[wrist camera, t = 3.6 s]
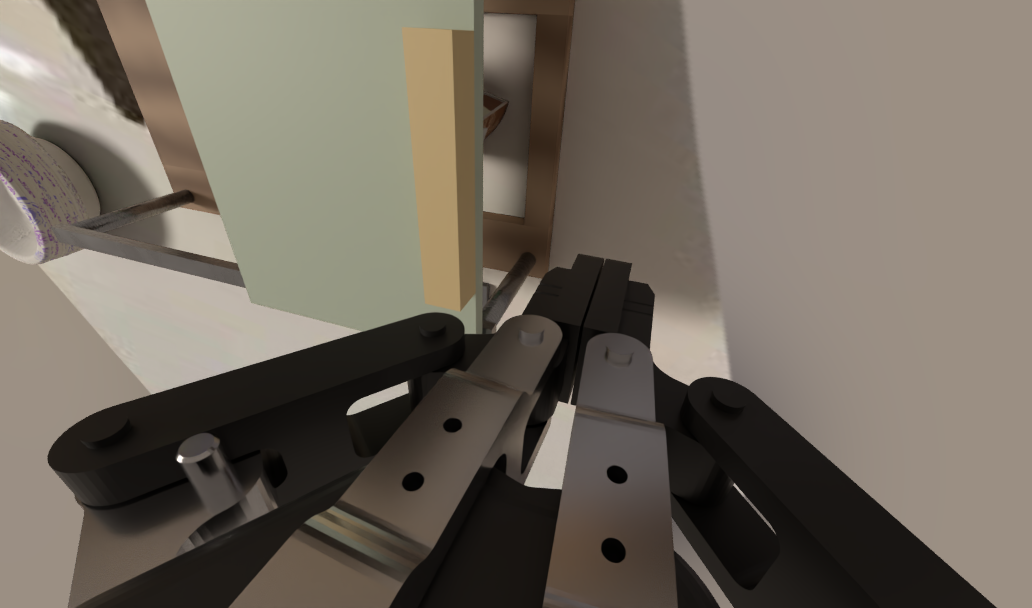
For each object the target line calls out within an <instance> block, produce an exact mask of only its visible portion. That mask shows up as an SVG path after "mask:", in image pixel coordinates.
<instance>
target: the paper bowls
mask: <svg viewBox="0 0 1032 608" xmlns="http://www.w3.org/2000/svg"><path fill="white" fill-rule="evenodd" d="M99 215H100V203H99V199H98V196H97V193H96V191H95V189H94V187H93V185H92V183H91V181H90V180H89V178H88V177H87V175H86V174H85V172H84V171H83V170H82V169H81V167H80V166H79V165H78V164H77V163H76V162H75V161H74V160H73V159H72V158H71V157H70V156H69V155H68V154H67V153H66V152H65V151H63V150H62V149H60V148H59V147H58V146H56V145H54V144H52V143H50V142H48V141H46V140H44V139H40V138H36V137H31V136H30V135H29V134H27V133H26V132H25V131H23V130H22V129H20V128H18V127H17V126H15V125H13V124H11V123H9V122H5V121H3V120H0V250H1V251H3V252H4V253H6V254H7V255H9V256H11V257H12V258H14V259H16V260H19V261H21V262H24V263H27V264H42V263H45V262H48V261H50V260H53V259H57V258H60V257H63V256H66V255H69V254H71V253H74V252H77V251H80V250H82V249H84V248H81V247H77V246H73V245H69V244H65V243H60V242H59V241H58V240H57V238H56V236H55V234H54V233H53V231H52V229H51V228H50V226H54V225H57V224H60V223H63V224H67V225H70V224H73V223H77V222H80V221H83V220H86V219H90V218H93V217H96V216H99Z"/></svg>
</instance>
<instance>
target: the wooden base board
mask: <svg viewBox="0 0 1032 608" xmlns="http://www.w3.org/2000/svg"><path fill="white" fill-rule="evenodd" d="M97 2H98V5H99V7H100V10H101V12H102V15H103V17H104V20H105V22H106V25H107V27H108V30H109V32H110V35H111V37H112V40H113V42H114V45H115V47H116V50H117V52H118V55H119V57H120V60H121V62H122V64H123V67H124V69H125V72H126V74H127V77H128V79H129V82H130V84H131V87H132V89H133V92H134V94H135V97H136V99H137V102H138V104H139V107H140V109H141V112H142V114H143V117H144V119H145V122H146V124H147V127H148V129H149V132H150V134H151V137H152V139H153V142H154V144H155V147H156V149H157V152H158V154H159V157H160V159H161V162H162V164H163V167H164V169H165V172H166V174H167V177H168V179H169V182H170V184H171V187H172V189H173V192H174V193H175V192H178V191H181V190H185V189H186V190H189V191H190V192H191V193H192V194H193V196H194V202H193V203H190V204H187V205H184V206H181V207H182V208H187V209H192V210H197V211H202V212H207V213H212V214H218V215H220V212H219V209H218V207H217V204H216V201H215V198H214V195H213V192H212V189H211V187H210V184H209V181H208V178H207V175H206V172H205V169H204V167H203V164H202V161H201V158H200V155H199V152H198V149H197V147H196V144H195V141H194V138H193V135H192V132H191V129H190V127H189V124H188V121H187V118H186V115H185V112H184V109H183V107H182V104H181V101H180V98H179V95H178V92H177V89H176V87H175V84H174V81H173V78H172V75H171V72H170V69H169V67H168V64H167V61H166V58H165V55H164V52H163V49H162V47H161V44H160V41H159V38H158V35H157V32H156V29H155V27H154V24H153V21H152V18H151V15H150V12H149V10H148V7H147V4H146V1H145V0H97ZM574 6H575V0H484V12H487V13H509V14H531V15H537V24H536V40H535V57H534V73H533V90H532V106H531V123H530V139H529V156H528V172H527V189H526V205H525V218H520V217H514V216H508V215H502V214H496V213H490V212H484V211H483V267H485V268H491V269H496V270H501V271H506V272H509V271H510V270H511V268H512V267H513V266H514V264H515V263H516V262H517V260H518V259H519V257H520V256H521V255H522V254H523V253H525V252H529V253H531V254H533V255H534V256H535V258H536V263H535V265H534V267H533V268H532V270H531V272H530V273H529V275H528V276H531V277H536V278H541V279H543V277H544V275H545V274H546V273H547V272H548V267H549V257H550V247H551V237H552V227H553V217H554V207H555V197H556V187H557V177H558V167H559V157H560V147H561V137H562V127H563V117H564V107H565V97H566V86H567V76H568V66H569V56H570V46H571V36H572V26H573V16H574Z"/></svg>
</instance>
